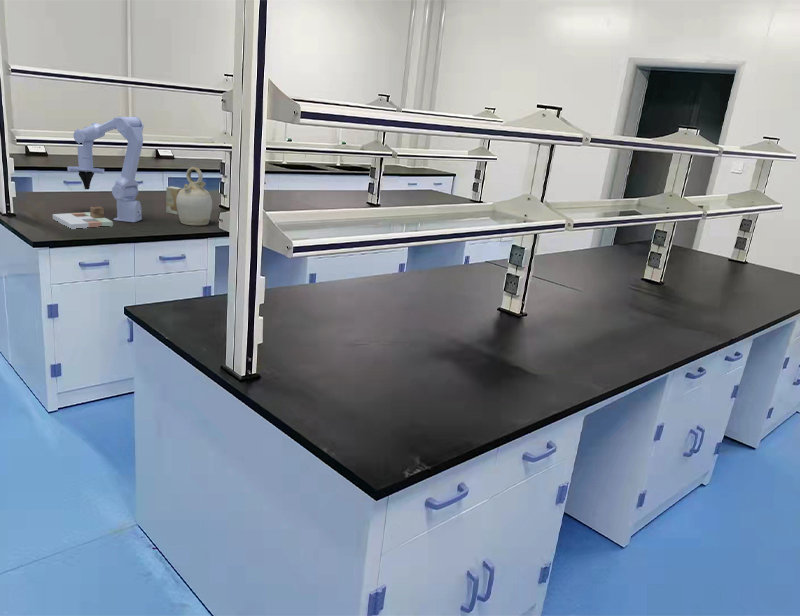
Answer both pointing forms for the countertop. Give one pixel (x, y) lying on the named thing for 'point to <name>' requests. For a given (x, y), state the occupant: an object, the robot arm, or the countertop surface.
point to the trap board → (81, 220)
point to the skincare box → (172, 199)
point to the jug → (194, 201)
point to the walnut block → (97, 212)
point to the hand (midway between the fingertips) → (87, 188)
